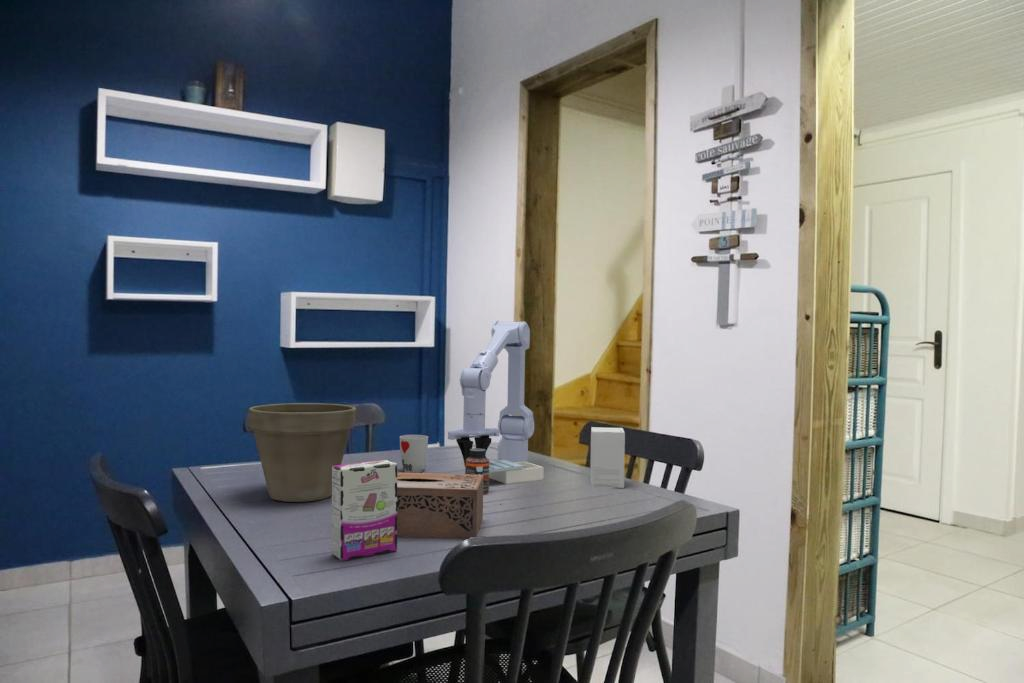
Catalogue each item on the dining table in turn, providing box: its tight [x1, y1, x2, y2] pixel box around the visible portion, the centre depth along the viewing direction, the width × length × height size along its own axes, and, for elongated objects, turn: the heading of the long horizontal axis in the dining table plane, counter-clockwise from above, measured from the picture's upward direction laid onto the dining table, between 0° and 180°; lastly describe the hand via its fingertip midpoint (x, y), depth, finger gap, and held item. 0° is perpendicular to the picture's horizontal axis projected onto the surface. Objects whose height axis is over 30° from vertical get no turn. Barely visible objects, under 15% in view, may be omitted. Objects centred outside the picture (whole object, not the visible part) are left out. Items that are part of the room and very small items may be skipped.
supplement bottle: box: [464, 447, 490, 496], centre depth 179 cm, size 6×6×11 cm
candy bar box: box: [331, 459, 398, 562], centre depth 131 cm, size 11×5×16 cm, turn 126°
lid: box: [489, 459, 523, 472], centre depth 191 cm, size 10×14×4 cm
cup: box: [399, 434, 429, 473], centre depth 205 cm, size 8×8×10 cm
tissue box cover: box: [397, 471, 484, 539], centre depth 149 cm, size 26×14×10 cm, turn 87°
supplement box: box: [589, 426, 626, 489], centre depth 194 cm, size 9×9×15 cm
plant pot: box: [248, 402, 357, 503], centre depth 174 cm, size 25×25×22 cm
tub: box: [489, 461, 545, 485], centre depth 196 cm, size 9×12×4 cm
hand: (473, 465), depth 188 cm, fingers closed on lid, 3 cm apart
